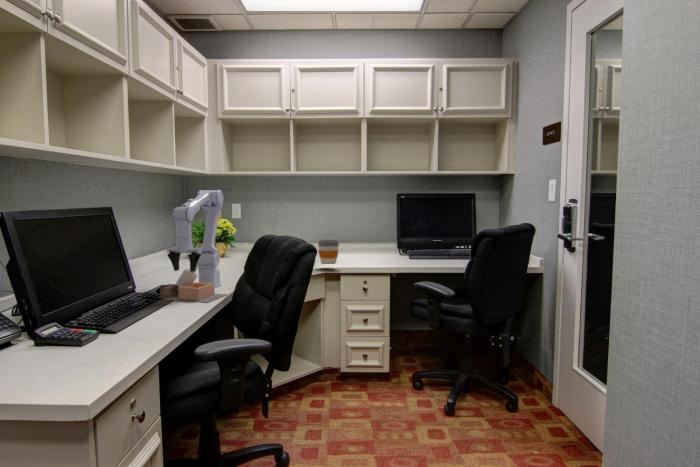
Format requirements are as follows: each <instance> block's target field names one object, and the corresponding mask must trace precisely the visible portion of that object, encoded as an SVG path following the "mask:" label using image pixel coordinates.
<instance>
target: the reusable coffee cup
mask: <svg viewBox="0 0 700 467" xmlns="http://www.w3.org/2000/svg"><path fill="white" fill-rule="evenodd" d="M317 244H318V256H319V258H320V260H319V261H320V264H321V263H322V264H335V263H336V264H337V259H338V255H339V240H336V239H325V240H324V239H322V240H318V243H317Z"/></svg>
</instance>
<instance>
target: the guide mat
mask: <svg viewBox="0 0 700 467" xmlns="http://www.w3.org/2000/svg"><path fill="white" fill-rule="evenodd" d="M228 295H229V294H228V293H227V294H226V293H215V294H214V295H211V296H209V297H206V298H203V299H201V300H189V299H179V294H178V295H175V296H172V297H169V298H166V299H163V300H166V301H176V302H177V301H178V302H179V301H180V302H190V303H191V302H192V303H202V304H203V303H204V304H205V303H206V304H209V303H211V302H214V301H217V300H218V299H221V298H224V297H226V296H228Z"/></svg>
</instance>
